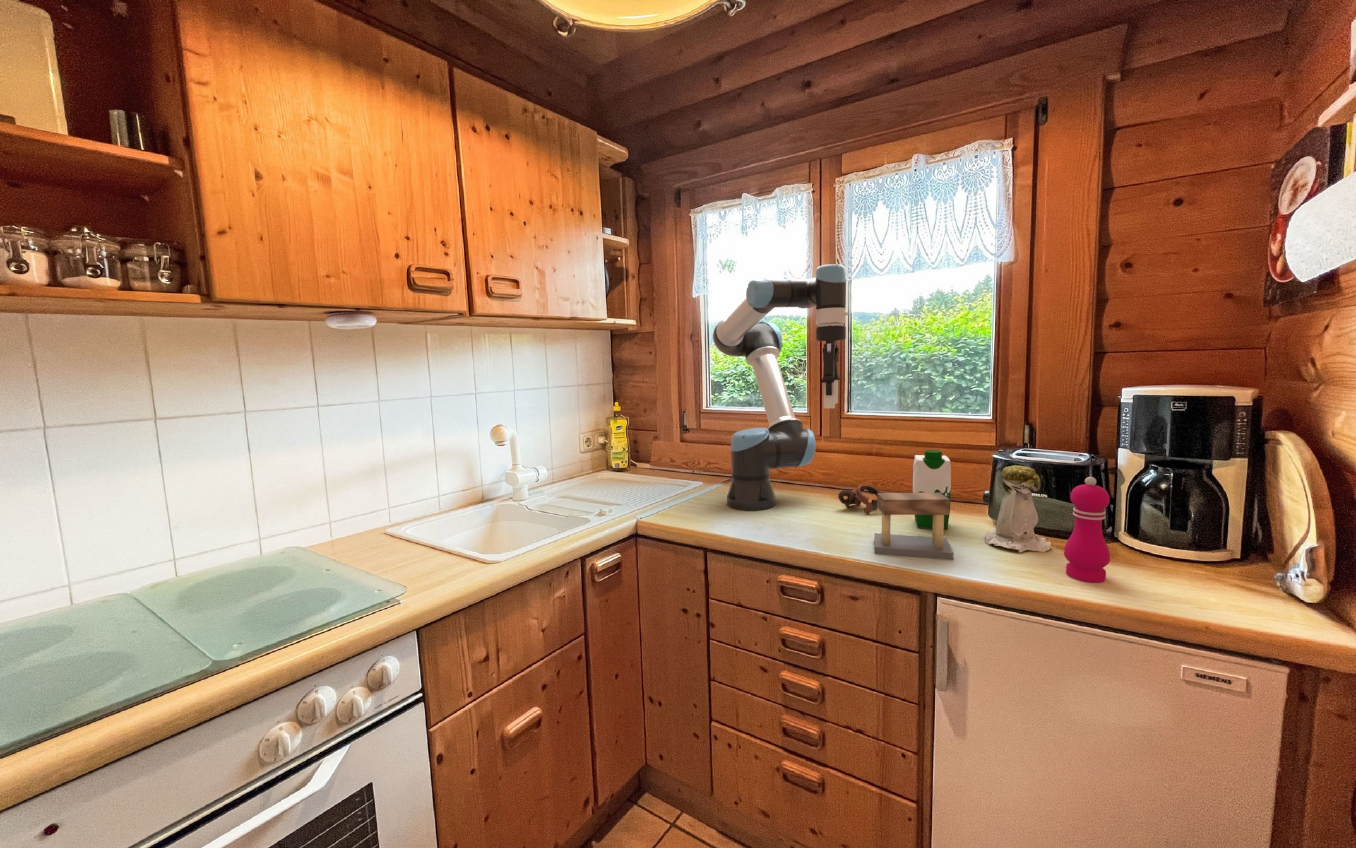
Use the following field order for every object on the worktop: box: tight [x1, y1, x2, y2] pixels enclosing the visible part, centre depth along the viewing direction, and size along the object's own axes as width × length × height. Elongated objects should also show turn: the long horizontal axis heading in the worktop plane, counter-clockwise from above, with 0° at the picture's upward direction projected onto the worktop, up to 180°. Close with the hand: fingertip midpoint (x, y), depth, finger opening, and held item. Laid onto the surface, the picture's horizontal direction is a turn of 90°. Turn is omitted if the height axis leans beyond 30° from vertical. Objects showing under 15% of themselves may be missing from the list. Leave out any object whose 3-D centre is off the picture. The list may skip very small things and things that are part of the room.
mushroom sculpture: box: [984, 464, 1051, 554], centre depth 122 cm, size 12×13×18 cm
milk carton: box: [912, 449, 952, 531], centre depth 138 cm, size 9×9×20 cm
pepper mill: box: [1063, 476, 1111, 583], centre depth 103 cm, size 7×7×20 cm
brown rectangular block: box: [876, 492, 951, 516], centre depth 121 cm, size 14×6×4 cm, turn 83°
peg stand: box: [873, 512, 954, 561], centre depth 122 cm, size 16×10×9 cm, turn 70°
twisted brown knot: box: [837, 484, 881, 515], centre depth 155 cm, size 12×10×8 cm
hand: (831, 405), depth 142 cm, fingers open, 13 cm apart
